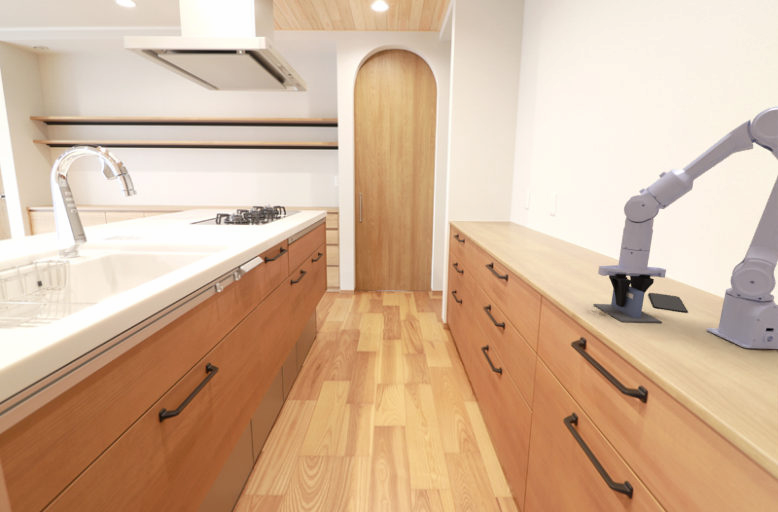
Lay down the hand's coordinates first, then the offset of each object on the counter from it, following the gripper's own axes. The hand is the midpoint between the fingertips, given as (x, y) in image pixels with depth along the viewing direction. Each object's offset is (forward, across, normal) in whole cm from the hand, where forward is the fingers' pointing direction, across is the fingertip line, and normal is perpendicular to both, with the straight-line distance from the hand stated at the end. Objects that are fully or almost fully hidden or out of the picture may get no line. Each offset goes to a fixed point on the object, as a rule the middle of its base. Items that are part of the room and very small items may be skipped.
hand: (626, 306), depth 94 cm
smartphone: (+2, -17, -10) cm, 20 cm away
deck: (+2, 0, 0) cm, 2 cm away
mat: (+2, 0, 0) cm, 2 cm away
